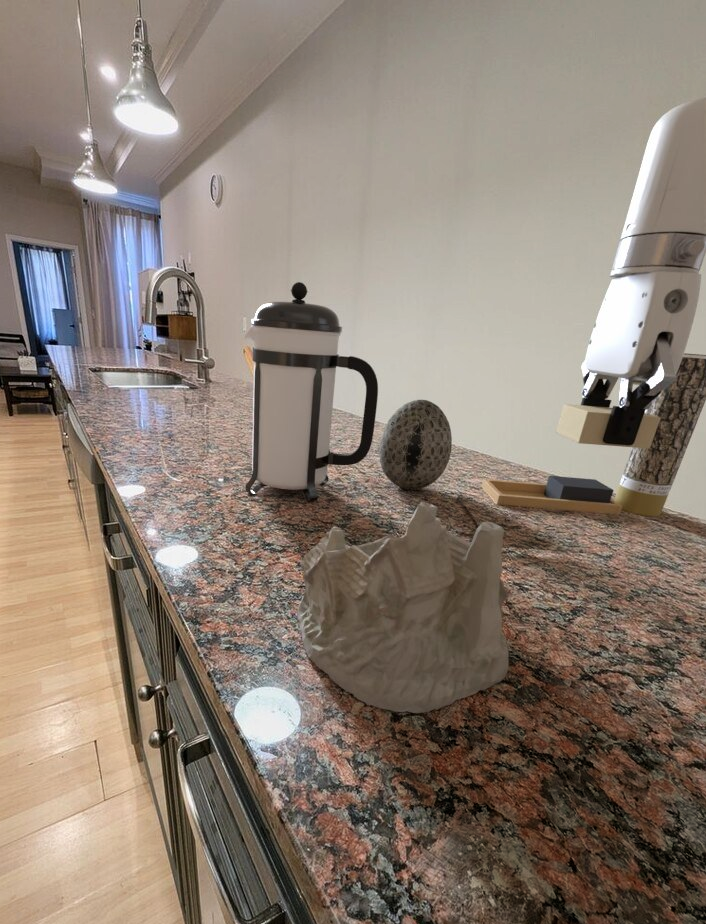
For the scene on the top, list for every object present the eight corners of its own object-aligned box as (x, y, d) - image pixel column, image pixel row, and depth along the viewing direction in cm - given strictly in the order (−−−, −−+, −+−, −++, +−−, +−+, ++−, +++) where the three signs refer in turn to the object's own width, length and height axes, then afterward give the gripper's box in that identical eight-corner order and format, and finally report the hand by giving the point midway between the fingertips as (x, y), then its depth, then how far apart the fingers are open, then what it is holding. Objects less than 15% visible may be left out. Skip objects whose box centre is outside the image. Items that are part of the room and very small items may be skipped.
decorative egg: (380, 473, 84) (391, 392, 78) (443, 483, 81) (459, 399, 76) (369, 492, 73) (381, 400, 68) (442, 504, 71) (460, 409, 65)
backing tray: (590, 499, 79) (594, 488, 78) (618, 518, 71) (623, 505, 71) (480, 489, 79) (483, 478, 79) (496, 507, 71) (499, 495, 71)
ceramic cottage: (539, 681, 35) (580, 497, 30) (345, 740, 29) (354, 526, 24) (427, 587, 48) (441, 450, 43) (280, 615, 43) (278, 462, 38)
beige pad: (620, 437, 55) (629, 408, 53) (649, 448, 50) (661, 417, 48) (555, 432, 55) (563, 403, 53) (578, 443, 50) (587, 411, 48)
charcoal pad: (589, 498, 78) (595, 479, 76) (606, 510, 73) (613, 490, 71) (543, 494, 78) (548, 475, 76) (557, 506, 73) (563, 485, 71)
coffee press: (267, 512, 62) (276, 271, 51) (229, 477, 75) (229, 277, 64) (368, 498, 71) (394, 288, 59) (318, 469, 83) (332, 291, 72)
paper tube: (666, 515, 74) (729, 357, 65) (649, 522, 70) (713, 355, 61) (622, 502, 79) (675, 353, 70) (604, 507, 75) (657, 351, 66)
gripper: (769, 250, 37) (687, 459, 44) (639, 274, 53) (593, 425, 60) (680, 243, 37) (612, 454, 44) (576, 269, 53) (538, 421, 60)
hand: (601, 436), depth 52 cm, fingers closed on beige pad, 5 cm apart
